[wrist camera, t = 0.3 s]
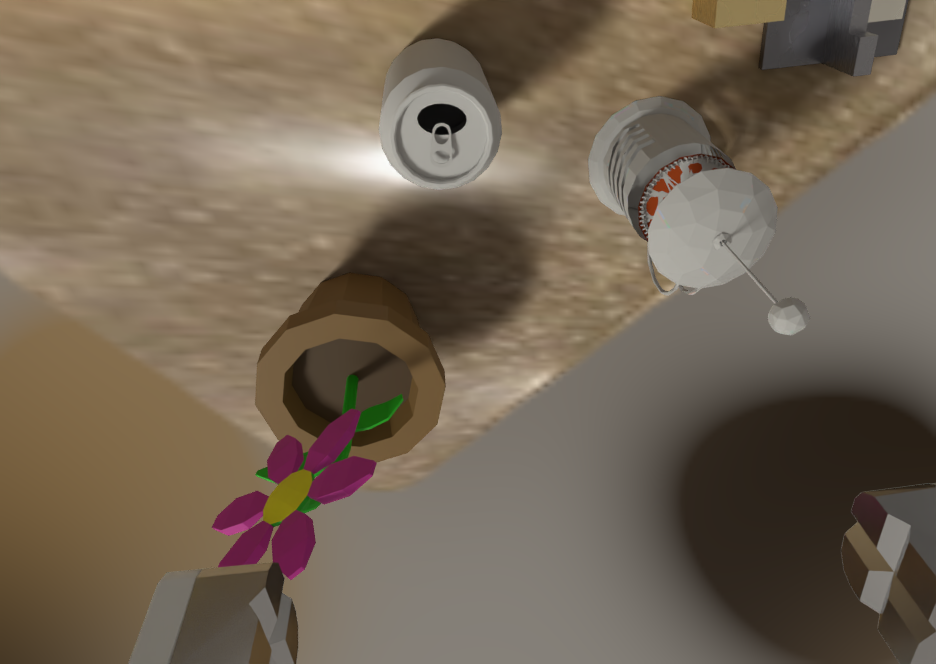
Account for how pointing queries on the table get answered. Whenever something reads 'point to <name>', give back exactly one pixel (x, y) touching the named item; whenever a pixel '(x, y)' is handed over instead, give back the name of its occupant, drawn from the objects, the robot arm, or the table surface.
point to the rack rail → (833, 34)
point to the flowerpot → (334, 410)
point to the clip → (738, 12)
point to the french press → (687, 200)
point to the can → (438, 116)
